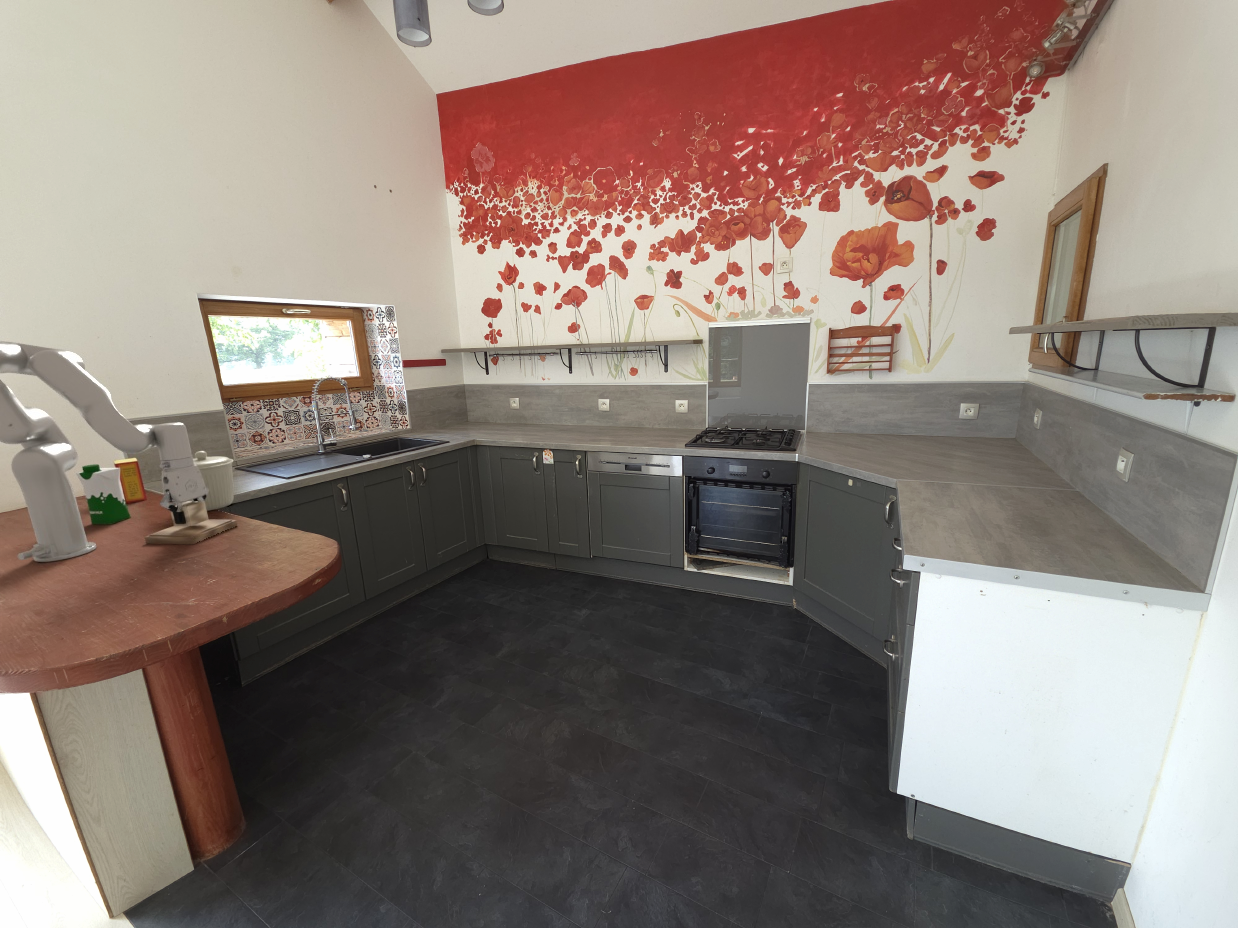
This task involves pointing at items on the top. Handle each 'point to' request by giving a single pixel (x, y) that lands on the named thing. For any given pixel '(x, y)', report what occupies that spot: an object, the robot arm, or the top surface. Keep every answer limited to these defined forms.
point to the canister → (216, 479)
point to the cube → (193, 513)
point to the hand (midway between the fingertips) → (190, 519)
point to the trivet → (190, 532)
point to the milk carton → (104, 494)
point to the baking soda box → (131, 480)
